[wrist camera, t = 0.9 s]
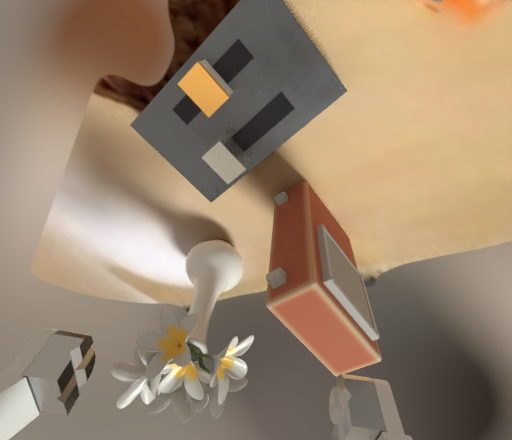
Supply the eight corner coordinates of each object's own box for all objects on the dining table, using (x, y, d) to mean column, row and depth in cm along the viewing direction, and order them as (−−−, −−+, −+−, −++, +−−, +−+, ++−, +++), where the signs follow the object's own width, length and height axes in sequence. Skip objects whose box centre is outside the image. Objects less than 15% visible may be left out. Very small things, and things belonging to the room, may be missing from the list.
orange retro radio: (320, 261, 53) (265, 194, 48) (359, 241, 50) (305, 168, 45) (335, 385, 35) (250, 301, 30) (397, 365, 32) (315, 268, 27)
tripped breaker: (205, 58, 35) (197, 61, 32) (234, 91, 37) (229, 97, 34) (186, 78, 36) (177, 84, 33) (215, 110, 38) (208, 117, 35)
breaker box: (265, -22, 34) (259, -32, 28) (342, 84, 39) (352, 97, 32) (142, 117, 43) (115, 134, 37) (216, 189, 48) (204, 216, 41)
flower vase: (156, 264, 57) (76, 409, 36) (222, 198, 49) (169, 335, 28) (214, 304, 61) (172, 456, 39) (284, 249, 53) (279, 403, 31)
